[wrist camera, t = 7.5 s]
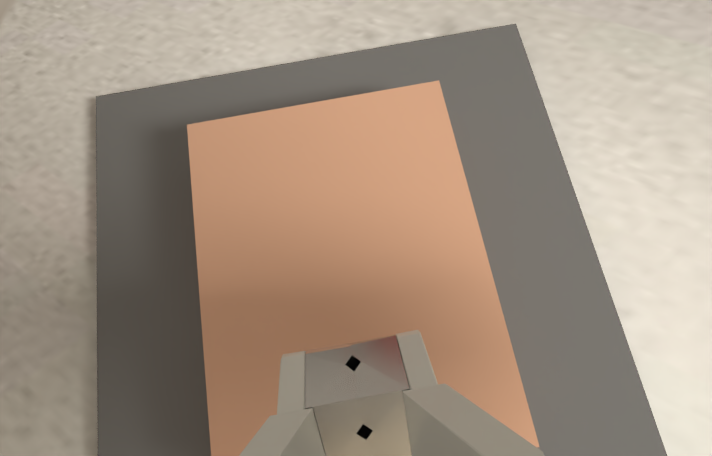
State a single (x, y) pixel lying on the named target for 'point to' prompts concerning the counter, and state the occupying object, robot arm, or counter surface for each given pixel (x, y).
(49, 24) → the counter surface
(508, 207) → the mat
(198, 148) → the tile
